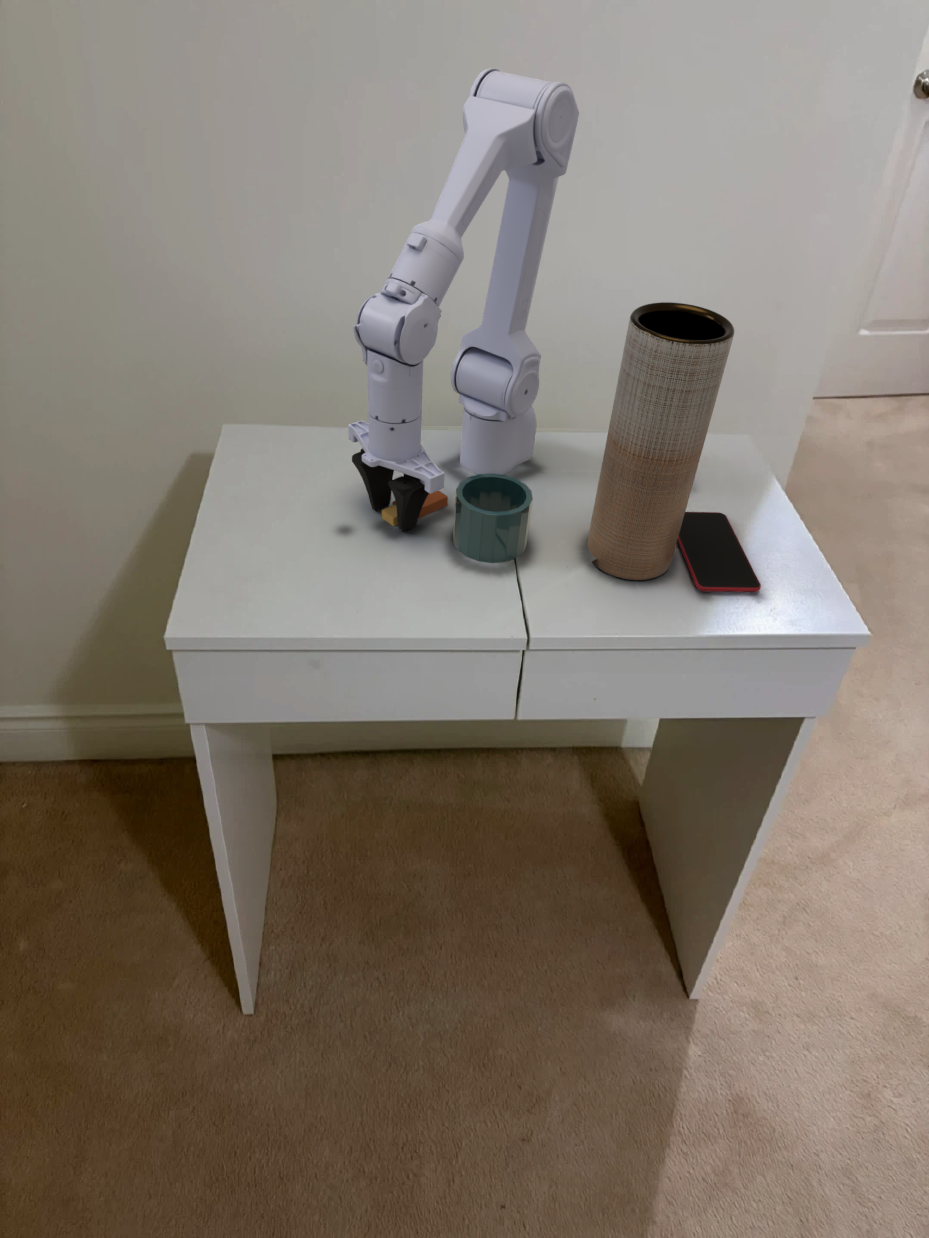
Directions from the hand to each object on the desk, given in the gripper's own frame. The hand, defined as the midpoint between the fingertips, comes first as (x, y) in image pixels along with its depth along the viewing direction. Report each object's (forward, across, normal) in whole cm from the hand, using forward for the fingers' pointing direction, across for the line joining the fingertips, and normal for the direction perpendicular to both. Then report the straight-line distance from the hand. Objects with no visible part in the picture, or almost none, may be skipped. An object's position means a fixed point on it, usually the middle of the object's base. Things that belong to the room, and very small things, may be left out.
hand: (394, 517), depth 99 cm
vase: (+2, +21, +18) cm, 28 cm away
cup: (+1, +10, +6) cm, 12 cm away
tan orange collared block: (+1, 0, +3) cm, 3 cm away
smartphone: (+2, +27, +26) cm, 38 cm away
